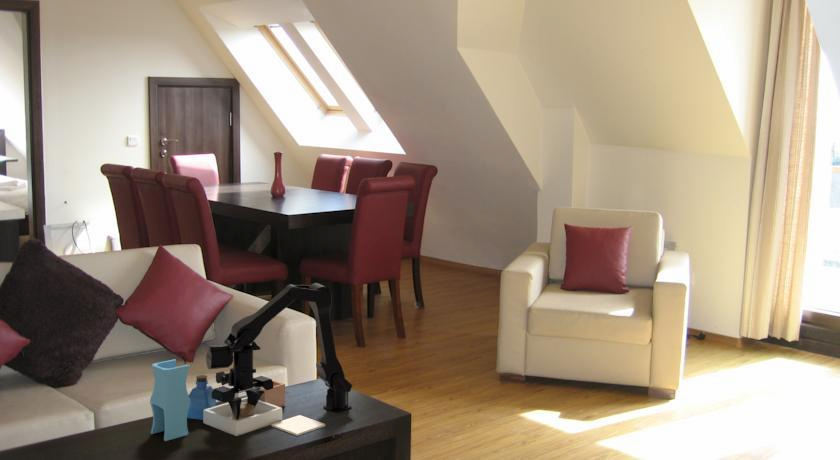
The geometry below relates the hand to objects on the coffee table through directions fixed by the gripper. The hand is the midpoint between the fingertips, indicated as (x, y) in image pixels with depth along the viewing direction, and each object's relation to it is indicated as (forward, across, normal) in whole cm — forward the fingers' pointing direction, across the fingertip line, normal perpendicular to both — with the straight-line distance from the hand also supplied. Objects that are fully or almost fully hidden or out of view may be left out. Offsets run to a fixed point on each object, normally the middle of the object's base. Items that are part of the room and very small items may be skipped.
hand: (243, 417), depth 256 cm
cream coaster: (+2, -9, +14) cm, 17 cm away
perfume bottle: (+2, +5, -13) cm, 14 cm away
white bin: (+2, 0, 0) cm, 2 cm away
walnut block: (+1, 0, 0) cm, 1 cm away
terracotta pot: (+2, -14, -6) cm, 15 cm away
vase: (+2, +20, -7) cm, 21 cm away
